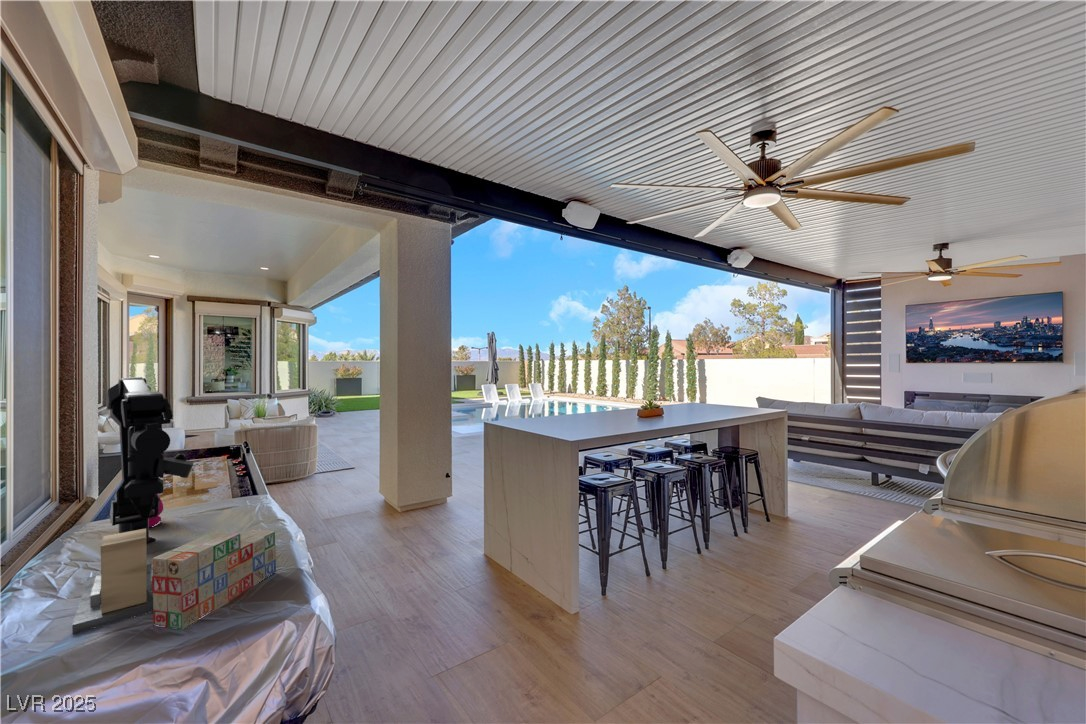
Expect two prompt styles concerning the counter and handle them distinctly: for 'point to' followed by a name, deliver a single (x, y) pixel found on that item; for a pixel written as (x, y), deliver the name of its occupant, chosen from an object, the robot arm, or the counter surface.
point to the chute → (92, 616)
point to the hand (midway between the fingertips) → (145, 518)
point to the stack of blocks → (209, 574)
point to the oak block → (123, 570)
